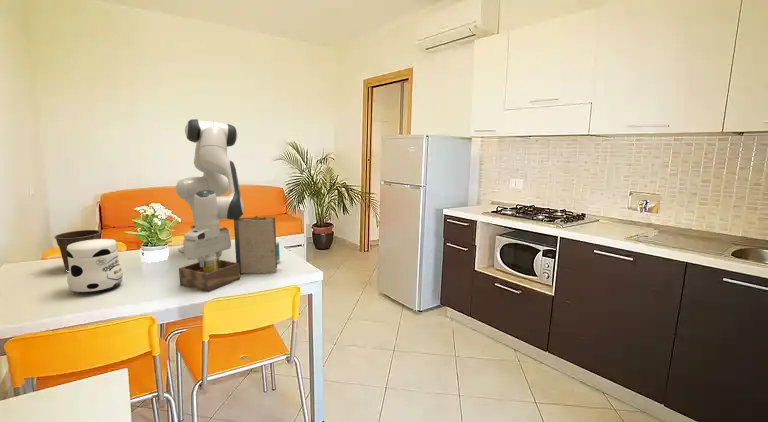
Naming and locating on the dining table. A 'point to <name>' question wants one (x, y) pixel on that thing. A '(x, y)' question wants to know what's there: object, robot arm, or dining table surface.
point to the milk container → (93, 266)
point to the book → (256, 244)
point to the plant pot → (74, 241)
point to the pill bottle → (277, 251)
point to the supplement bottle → (210, 263)
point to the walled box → (209, 276)
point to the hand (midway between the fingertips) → (210, 264)
